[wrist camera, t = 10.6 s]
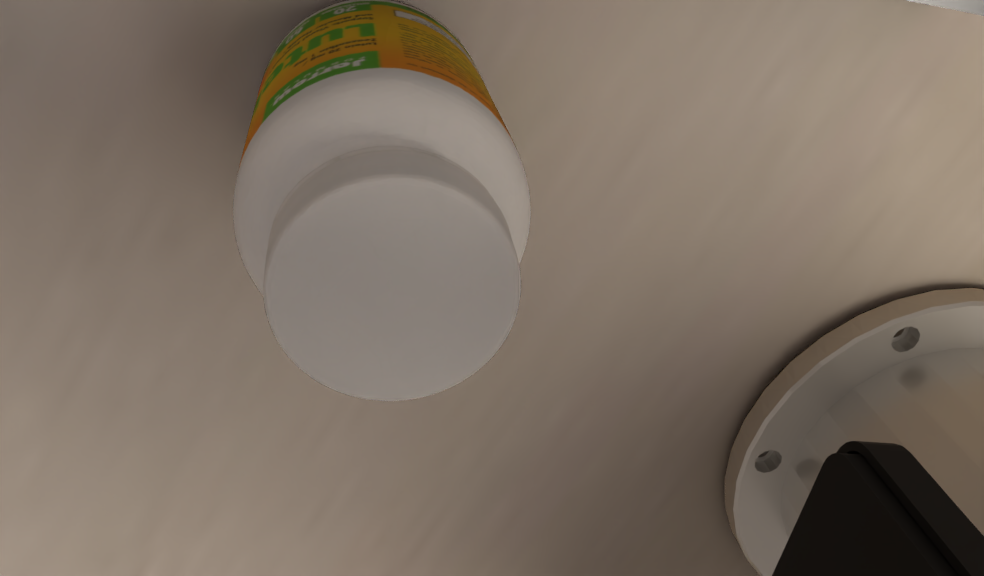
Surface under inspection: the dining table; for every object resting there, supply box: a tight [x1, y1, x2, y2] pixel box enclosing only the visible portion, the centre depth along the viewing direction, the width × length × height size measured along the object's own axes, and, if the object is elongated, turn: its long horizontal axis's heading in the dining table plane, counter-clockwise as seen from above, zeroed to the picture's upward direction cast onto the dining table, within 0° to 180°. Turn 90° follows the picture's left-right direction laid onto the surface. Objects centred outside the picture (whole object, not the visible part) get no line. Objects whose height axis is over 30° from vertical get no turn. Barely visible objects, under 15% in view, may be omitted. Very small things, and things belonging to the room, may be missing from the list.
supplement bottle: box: [233, 0, 531, 401], centre depth 18 cm, size 5×5×10 cm
